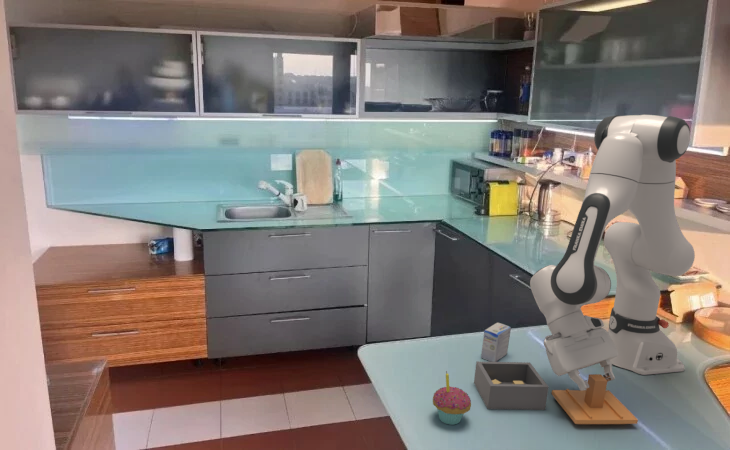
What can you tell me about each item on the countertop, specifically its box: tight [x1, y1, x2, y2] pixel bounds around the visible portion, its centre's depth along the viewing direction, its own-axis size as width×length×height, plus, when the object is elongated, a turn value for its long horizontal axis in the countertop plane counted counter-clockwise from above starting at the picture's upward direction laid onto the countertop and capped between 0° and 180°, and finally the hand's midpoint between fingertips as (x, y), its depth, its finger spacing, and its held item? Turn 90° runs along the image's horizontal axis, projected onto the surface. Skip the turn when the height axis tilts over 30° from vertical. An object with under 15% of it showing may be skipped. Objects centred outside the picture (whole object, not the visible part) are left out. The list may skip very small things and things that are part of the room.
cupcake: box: [432, 370, 472, 426], centre depth 127 cm, size 9×8×12 cm
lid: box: [551, 373, 639, 425], centre depth 134 cm, size 15×13×10 cm
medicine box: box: [480, 322, 512, 362], centre depth 160 cm, size 8×4×9 cm, turn 141°
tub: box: [473, 361, 549, 411], centre depth 139 cm, size 14×12×6 cm
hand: (598, 384), depth 133 cm, fingers open, 8 cm apart
